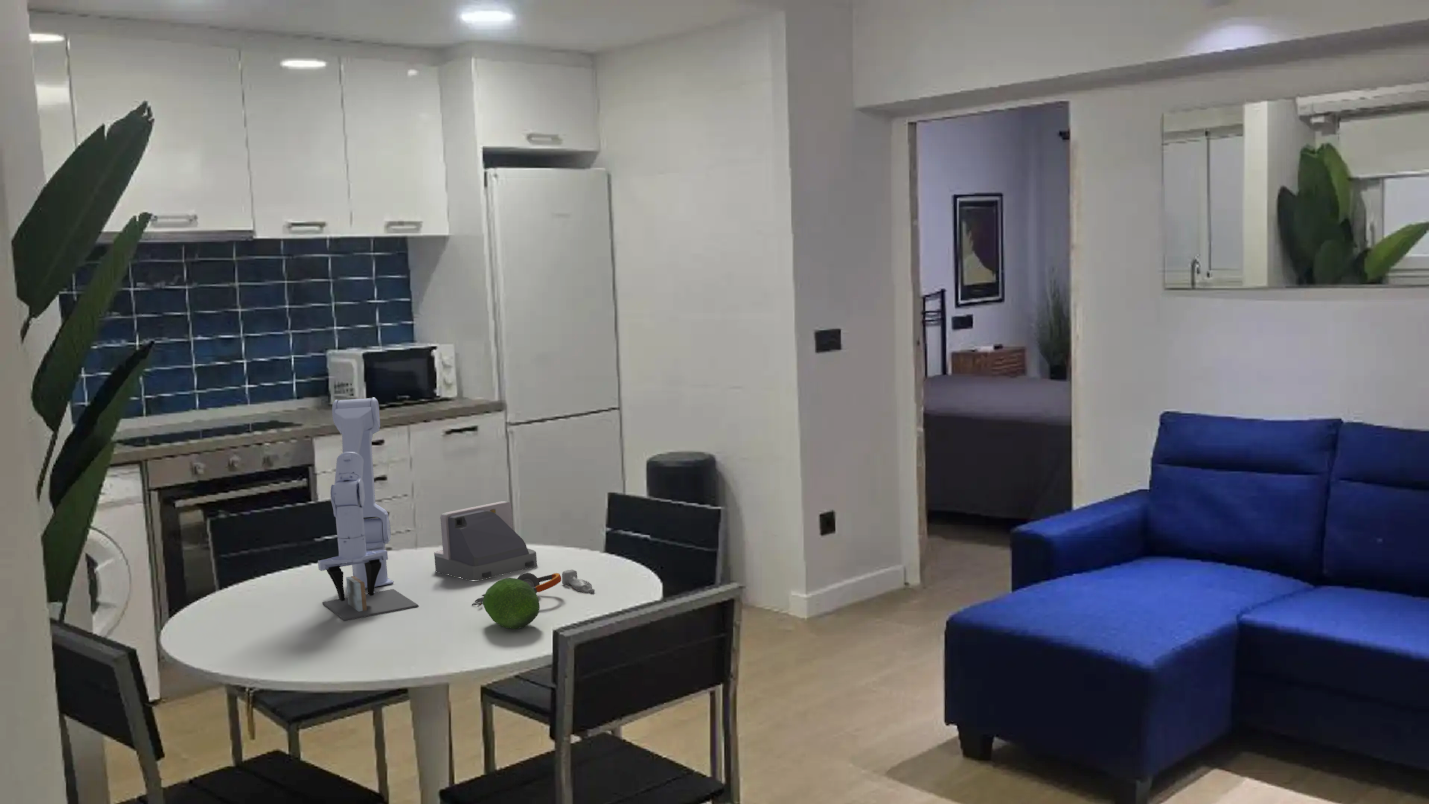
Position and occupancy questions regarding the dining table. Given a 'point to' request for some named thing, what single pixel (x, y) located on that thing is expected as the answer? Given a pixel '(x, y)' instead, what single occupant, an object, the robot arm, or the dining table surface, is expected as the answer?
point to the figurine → (576, 581)
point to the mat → (371, 605)
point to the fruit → (511, 603)
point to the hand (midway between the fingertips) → (356, 597)
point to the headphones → (534, 583)
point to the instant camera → (481, 543)
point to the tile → (356, 593)
